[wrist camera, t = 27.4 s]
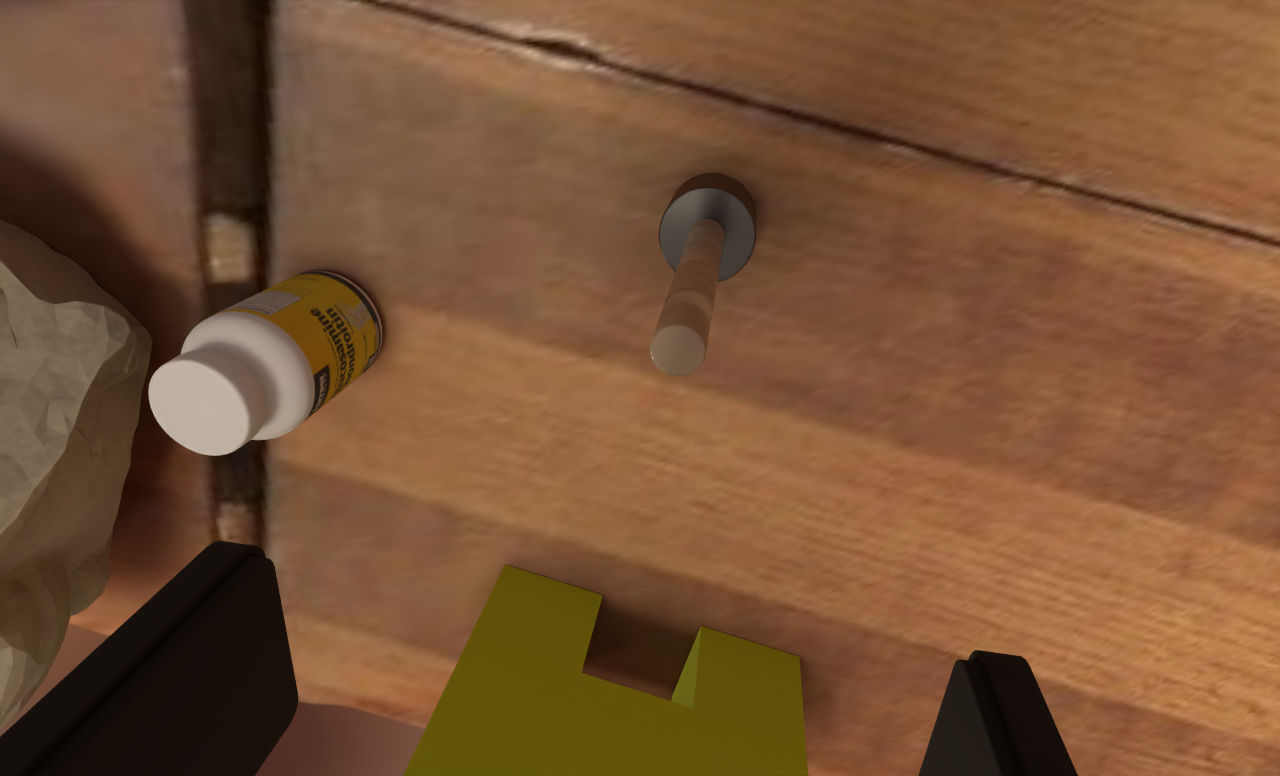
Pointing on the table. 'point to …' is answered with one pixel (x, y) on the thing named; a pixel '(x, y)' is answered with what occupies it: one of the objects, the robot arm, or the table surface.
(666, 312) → the scrub brush
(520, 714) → the decorative object
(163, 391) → the pill bottle
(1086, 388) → the table surface
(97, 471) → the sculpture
